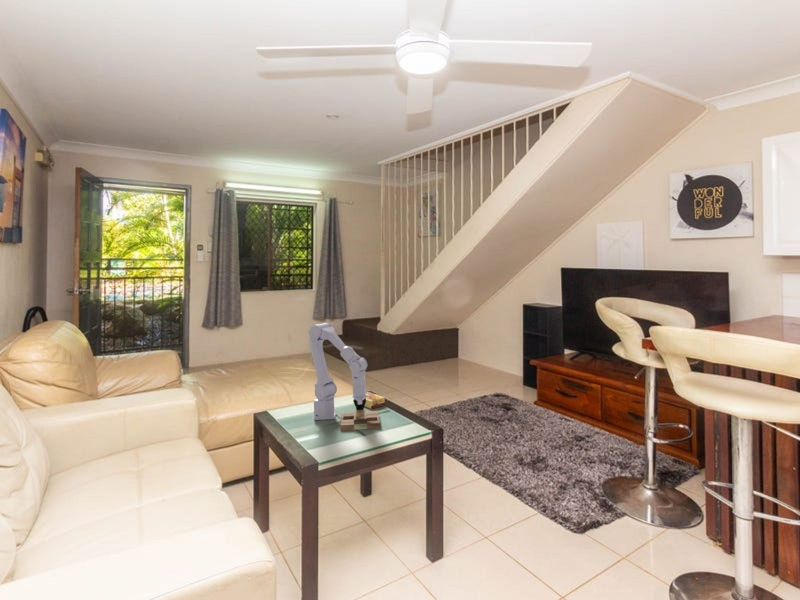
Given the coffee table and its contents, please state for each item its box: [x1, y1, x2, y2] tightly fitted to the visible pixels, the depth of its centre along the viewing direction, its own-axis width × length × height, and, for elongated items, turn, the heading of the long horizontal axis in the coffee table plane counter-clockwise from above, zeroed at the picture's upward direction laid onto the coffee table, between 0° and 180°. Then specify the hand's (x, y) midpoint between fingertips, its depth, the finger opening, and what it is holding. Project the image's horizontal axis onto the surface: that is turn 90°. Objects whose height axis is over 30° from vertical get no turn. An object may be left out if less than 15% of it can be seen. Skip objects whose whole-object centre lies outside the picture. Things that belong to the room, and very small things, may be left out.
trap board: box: [340, 410, 381, 431], centre depth 191 cm, size 16×17×4 cm
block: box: [354, 409, 365, 419], centre depth 188 cm, size 4×4×4 cm
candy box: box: [364, 390, 386, 409], centre depth 218 cm, size 9×4×15 cm
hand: (360, 415), depth 191 cm, fingers closed
